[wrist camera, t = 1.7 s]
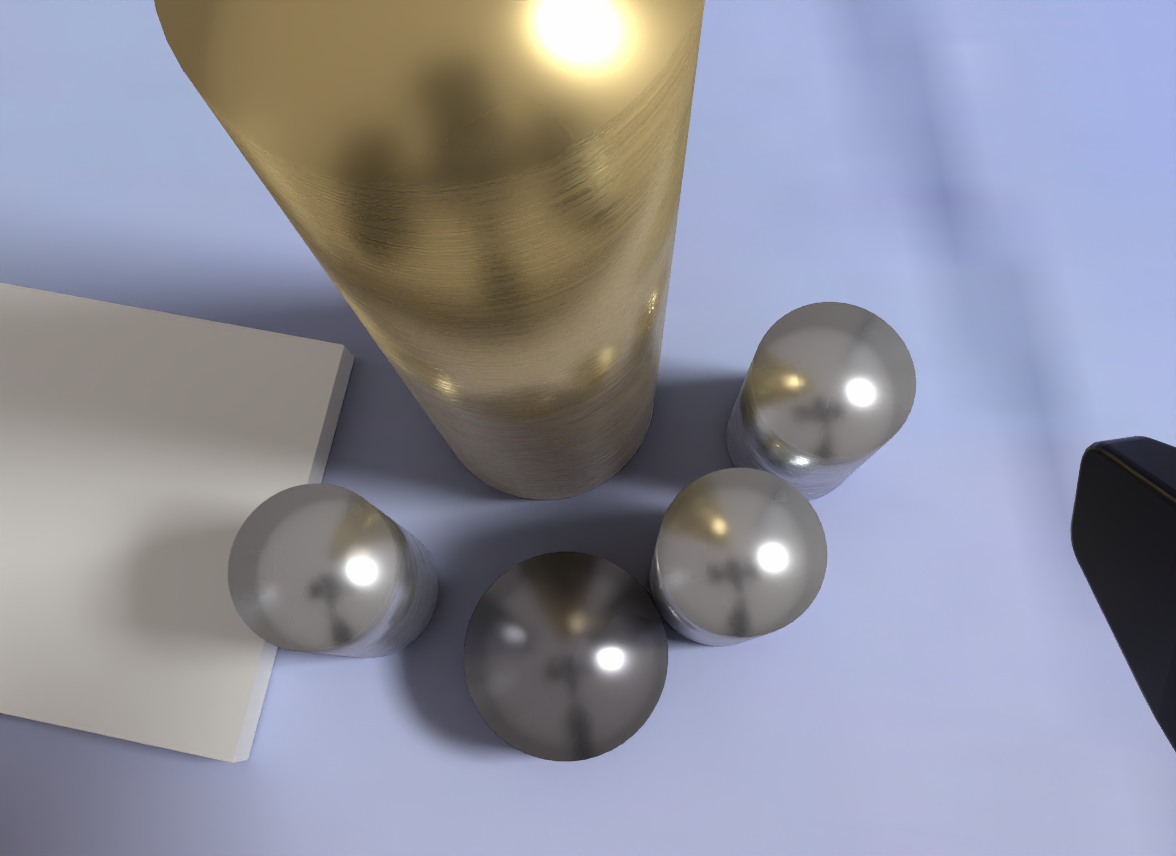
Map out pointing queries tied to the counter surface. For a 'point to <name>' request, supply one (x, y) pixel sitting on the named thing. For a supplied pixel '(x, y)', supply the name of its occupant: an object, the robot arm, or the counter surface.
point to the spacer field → (589, 583)
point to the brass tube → (477, 199)
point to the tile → (144, 511)
